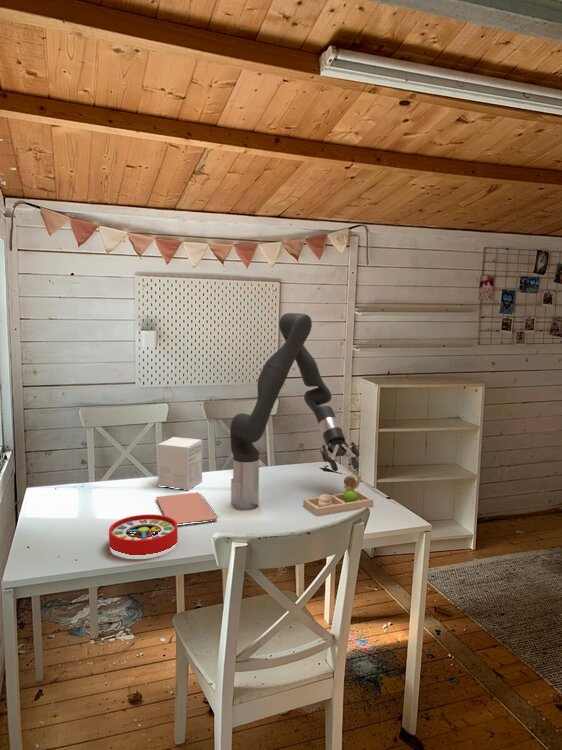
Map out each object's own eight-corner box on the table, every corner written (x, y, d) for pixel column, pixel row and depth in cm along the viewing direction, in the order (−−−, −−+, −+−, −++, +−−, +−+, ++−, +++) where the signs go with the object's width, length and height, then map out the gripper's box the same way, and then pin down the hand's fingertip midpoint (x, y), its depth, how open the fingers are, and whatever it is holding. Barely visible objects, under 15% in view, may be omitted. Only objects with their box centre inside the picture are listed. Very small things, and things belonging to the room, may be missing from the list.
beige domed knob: (322, 511, 197) (322, 496, 197) (316, 507, 201) (316, 492, 201) (333, 509, 199) (334, 495, 198) (327, 505, 203) (327, 491, 203)
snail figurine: (360, 506, 202) (362, 474, 201) (342, 506, 203) (343, 473, 201) (359, 501, 208) (360, 469, 206) (342, 500, 208) (343, 469, 206)
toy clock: (174, 512, 182) (180, 537, 163) (175, 529, 183) (180, 556, 164) (109, 517, 177) (107, 544, 158) (110, 535, 178) (108, 564, 159)
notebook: (220, 523, 190) (220, 517, 189) (169, 529, 184) (169, 523, 183) (201, 496, 215) (201, 491, 214) (155, 501, 209) (155, 496, 208)
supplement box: (203, 481, 231) (203, 439, 229) (188, 491, 218) (188, 447, 216) (173, 477, 235) (173, 436, 233) (157, 487, 222) (157, 443, 220)
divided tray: (316, 518, 193) (317, 508, 193) (303, 508, 202) (303, 499, 202) (373, 509, 203) (373, 499, 203) (357, 499, 212) (358, 490, 212)
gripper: (318, 427, 210) (333, 466, 201) (351, 425, 216) (367, 462, 207) (311, 438, 215) (325, 476, 206) (343, 435, 221) (358, 472, 212)
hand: (346, 469), depth 207 cm, fingers open, 8 cm apart
